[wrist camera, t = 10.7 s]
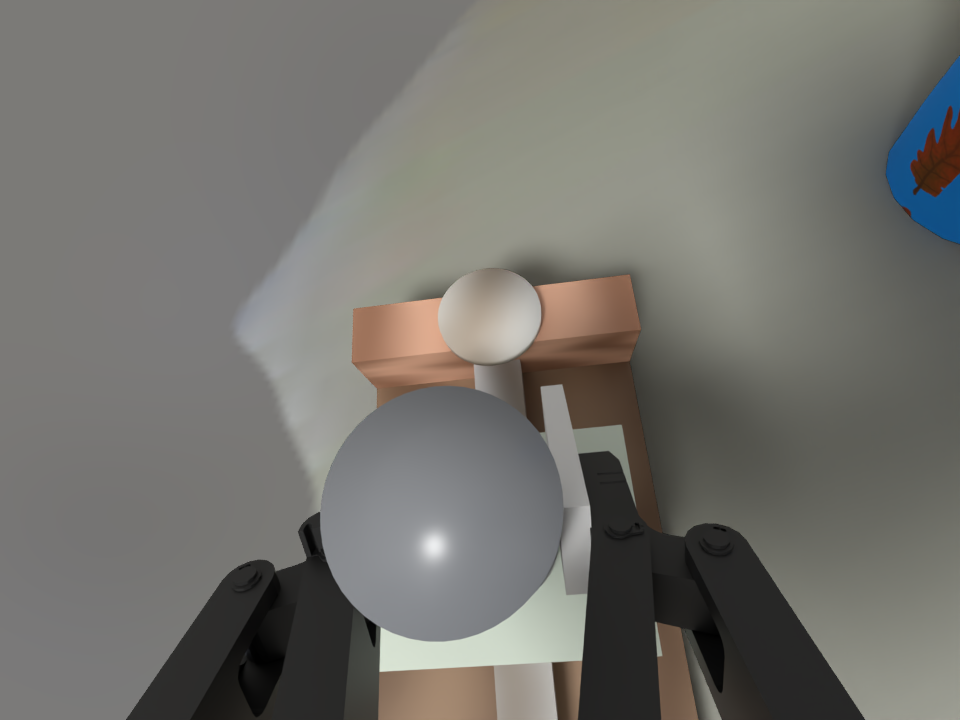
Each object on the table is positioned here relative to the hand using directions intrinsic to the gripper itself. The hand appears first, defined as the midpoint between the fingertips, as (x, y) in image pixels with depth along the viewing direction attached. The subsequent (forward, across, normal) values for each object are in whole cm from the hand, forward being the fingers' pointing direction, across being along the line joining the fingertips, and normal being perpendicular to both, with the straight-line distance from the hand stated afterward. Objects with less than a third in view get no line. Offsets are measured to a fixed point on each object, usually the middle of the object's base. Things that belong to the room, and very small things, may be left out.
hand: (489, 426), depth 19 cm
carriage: (+2, 0, -7) cm, 7 cm away
